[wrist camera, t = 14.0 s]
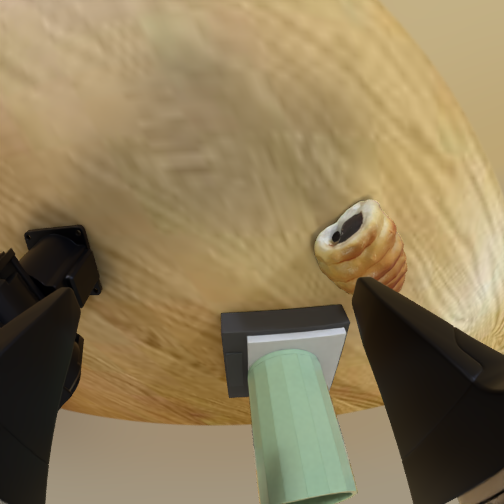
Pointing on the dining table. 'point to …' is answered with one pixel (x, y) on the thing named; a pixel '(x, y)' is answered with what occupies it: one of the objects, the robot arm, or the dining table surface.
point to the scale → (281, 339)
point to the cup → (296, 432)
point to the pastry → (362, 248)
